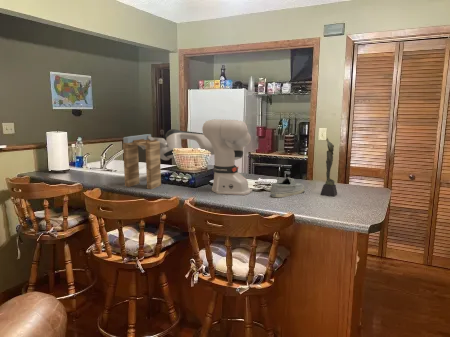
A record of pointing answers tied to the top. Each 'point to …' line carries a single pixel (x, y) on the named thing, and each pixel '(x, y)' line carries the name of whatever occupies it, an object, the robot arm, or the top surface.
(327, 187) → the statue
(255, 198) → the top surface
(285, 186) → the boat shoe
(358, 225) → the top surface
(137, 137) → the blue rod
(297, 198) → the top surface
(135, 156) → the oak bridge
